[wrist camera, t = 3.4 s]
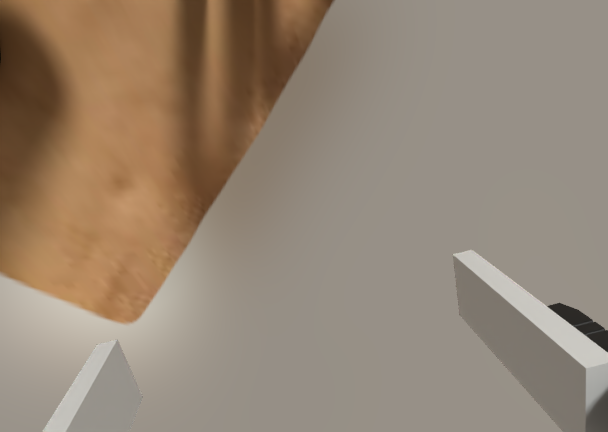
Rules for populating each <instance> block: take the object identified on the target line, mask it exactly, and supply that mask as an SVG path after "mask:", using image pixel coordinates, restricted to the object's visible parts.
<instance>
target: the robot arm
mask: <svg viewBox="0 0 608 432" xmlns="http://www.w3.org/2000/svg"><path fill="white" fill-rule="evenodd" d="M0 61H1V53H0ZM453 259H454V269H455V278H456V287H457V296H458V305H459V315H460V316H461V317H462V318H463V319H464V320H465V321H466V323H467V324H468V325H469V326H470V327H471V328H472V329H473V331H474V332H475V333H476V334H477V335H478V336H479V337H480V338H481V340H482V341H483V342H484V343H485V344H486V345H487V346H488V348H489V349H490V350H491V351H492V352H493V353H494V354H495V355H496V357H497V358H498V359H499V360H500V361H501V362H502V363H503V364H504V366H505V367H506V368H507V369H508V370H509V371H510V372H511V373H512V375H513V376H514V377H515V378H516V379H517V380H518V381H519V382H520V383H521V385H522V386H523V387H524V388H525V389H526V390H527V391H528V392H529V394H530V395H531V396H532V397H533V398H534V399H535V401H536V402H537V403H538V404H539V405H540V406H541V407H542V408H543V410H544V411H545V412H546V413H547V414H548V415H549V416H550V417H551V419H552V420H553V421H554V422H555V423H556V424H557V425H558V426H559V428H560V429H561V430H562V431H563V432H608V331H607V330H605V329H604V328H603V327H602V326H601V325H599V324H598V323H596V322H593V321H592V319H590V318H589V317H588V316H586V315H585V314H583V313H582V312H580V311H579V310H577V309H574V308H572V307H569V306H566V305H563V304H561V303H557V304H553V305H550V306H545V305H544V304H543V303H542V302H540V301H539V300H538V299H536V298H535V297H534V296H532V295H531V294H530V293H528V292H527V291H526V290H524V289H523V288H522V287H520V286H519V285H518V284H516V283H515V282H514V281H512V280H511V279H510V278H509V277H507V276H506V275H505V274H503V273H502V272H500V271H499V270H498V269H497V268H495V267H494V266H493V265H491V264H490V263H489V262H487V261H486V260H485V259H484V258H482V257H481V256H480V255H478V254H477V253H476V252H474V251H473V250H469V251H465V252H461V253H457V254H453ZM142 397H143V396H142V394H141V392H140V390H139V387H138V385H137V382H136V380H135V378H134V376H133V373H132V371H131V369H130V367H129V364H128V362H127V360H126V358H125V356H124V353H123V351H122V349H121V346H120V344H119V342H118V340H113V341H109V342H105V343H101V344H97V346H96V347H95V349H94V351H93V352H92V354H91V355H90V357H89V358H88V360H87V362H86V363H85V365H84V366H83V368H82V369H81V371H80V373H79V375H78V376H77V377H76V379H75V381H74V382H73V384H72V385H71V387H70V389H69V390H68V392H67V393H66V395H65V397H64V398H63V400H62V401H61V403H60V404H59V406H58V408H57V409H56V411H55V413H54V414H53V416H52V417H51V419H50V420H49V422H48V424H47V426H46V427H45V428H44V430H43V431H42V432H130V429H131V427H132V424H133V421H134V418H135V416H136V413H137V410H138V408H139V405H140V403H141V400H142Z"/></svg>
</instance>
